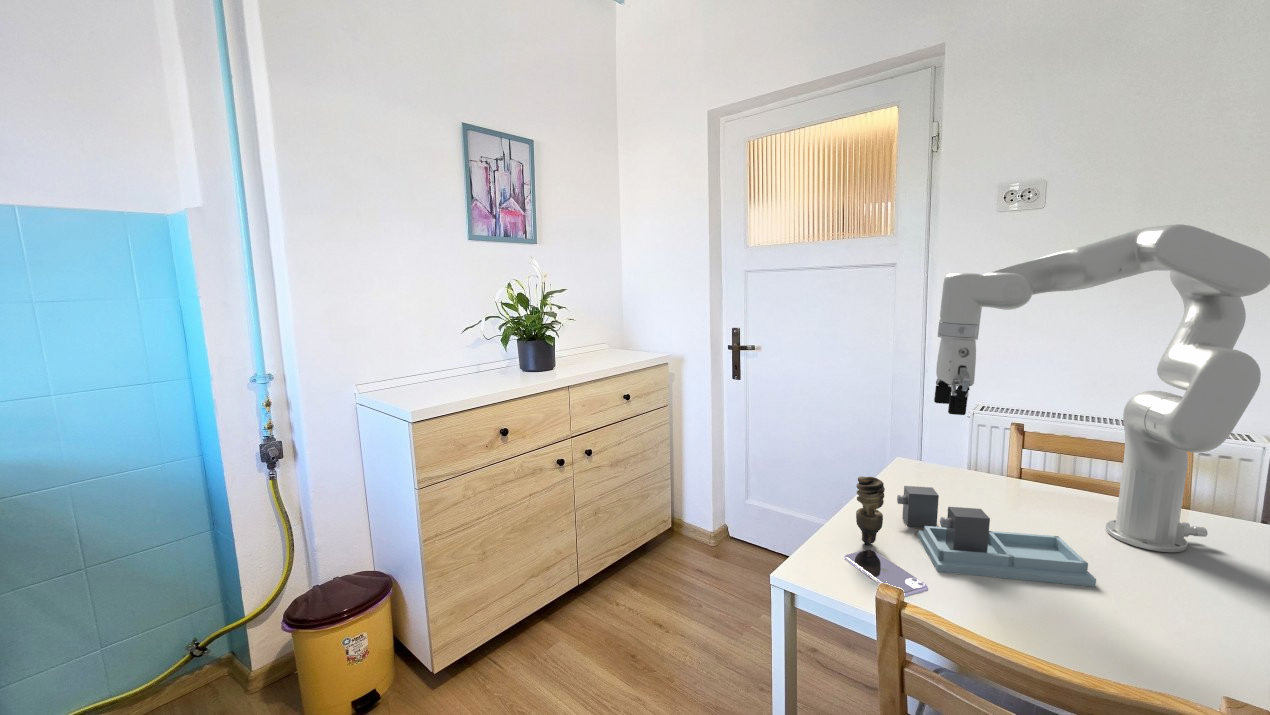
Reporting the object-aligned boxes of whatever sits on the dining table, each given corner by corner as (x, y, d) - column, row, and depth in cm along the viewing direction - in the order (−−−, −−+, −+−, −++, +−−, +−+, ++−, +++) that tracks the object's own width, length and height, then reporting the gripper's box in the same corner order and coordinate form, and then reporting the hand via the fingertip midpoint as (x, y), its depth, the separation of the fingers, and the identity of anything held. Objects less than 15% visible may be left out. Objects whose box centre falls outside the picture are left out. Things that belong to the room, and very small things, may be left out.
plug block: (930, 520, 125) (932, 487, 124) (936, 529, 121) (938, 495, 120) (894, 517, 127) (896, 485, 126) (899, 526, 123) (900, 493, 121)
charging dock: (1055, 548, 111) (1057, 532, 111) (1095, 586, 98) (1097, 568, 97) (917, 537, 117) (918, 522, 117) (937, 571, 104) (938, 554, 103)
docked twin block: (978, 545, 110) (981, 508, 109) (986, 557, 106) (989, 518, 105) (936, 542, 112) (939, 506, 111) (943, 553, 108) (946, 515, 107)
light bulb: (849, 538, 118) (851, 472, 115) (873, 536, 118) (876, 471, 116) (862, 551, 112) (865, 482, 110) (887, 549, 113) (890, 481, 110)
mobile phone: (871, 547, 113) (931, 585, 99) (871, 551, 113) (931, 590, 99) (841, 554, 110) (898, 594, 96) (841, 558, 110) (898, 599, 96)
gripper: (994, 336, 107) (983, 420, 110) (963, 327, 123) (954, 400, 126) (952, 335, 108) (942, 417, 111) (927, 326, 125) (919, 398, 128)
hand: (949, 408), depth 119 cm, fingers open, 9 cm apart
